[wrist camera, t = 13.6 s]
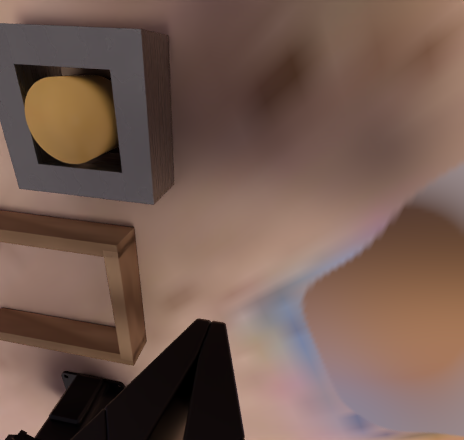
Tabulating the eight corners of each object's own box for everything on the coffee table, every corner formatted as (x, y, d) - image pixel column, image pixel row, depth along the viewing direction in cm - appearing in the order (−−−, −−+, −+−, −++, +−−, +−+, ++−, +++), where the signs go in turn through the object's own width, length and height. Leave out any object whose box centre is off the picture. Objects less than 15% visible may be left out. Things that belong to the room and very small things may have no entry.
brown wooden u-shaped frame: (146, 341, 26) (133, 365, 24) (4, 315, 28) (-19, 336, 26) (134, 227, 21) (116, 245, 19) (-38, 205, 23) (-71, 219, 21)
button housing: (173, 184, 19) (153, 204, 17) (56, 171, 20) (19, 188, 18) (167, 35, 16) (141, 29, 13) (26, 29, 17) (-28, 22, 14)
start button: (135, 152, 18) (108, 167, 15) (72, 146, 19) (35, 159, 16) (128, 76, 16) (96, 79, 14) (58, 72, 17) (14, 74, 14)
